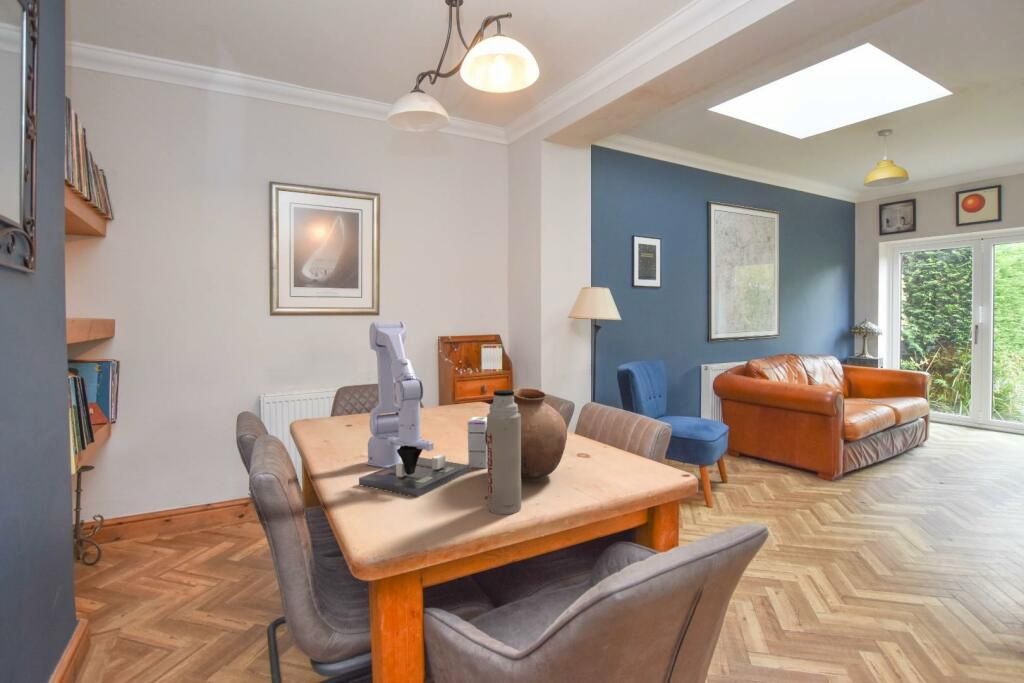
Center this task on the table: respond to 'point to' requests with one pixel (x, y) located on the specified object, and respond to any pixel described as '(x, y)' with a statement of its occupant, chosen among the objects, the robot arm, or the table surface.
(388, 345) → the robot arm
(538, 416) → the pottery
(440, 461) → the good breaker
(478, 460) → the syrup box
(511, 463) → the thermos bottle
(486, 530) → the table surface
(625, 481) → the table surface
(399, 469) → the beige rectangular block
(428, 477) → the breaker panel
